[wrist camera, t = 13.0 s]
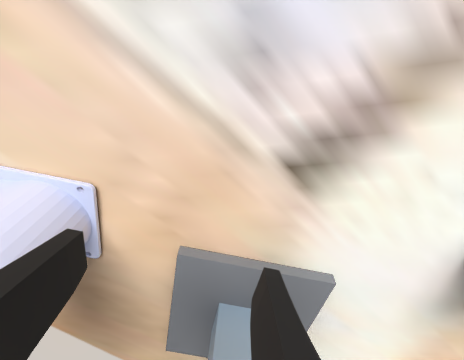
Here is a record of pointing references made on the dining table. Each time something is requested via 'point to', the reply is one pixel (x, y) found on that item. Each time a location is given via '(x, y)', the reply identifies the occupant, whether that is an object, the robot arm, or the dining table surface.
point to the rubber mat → (230, 294)
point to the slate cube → (231, 334)
